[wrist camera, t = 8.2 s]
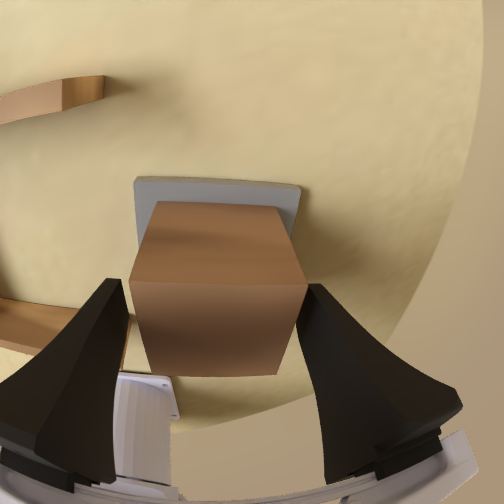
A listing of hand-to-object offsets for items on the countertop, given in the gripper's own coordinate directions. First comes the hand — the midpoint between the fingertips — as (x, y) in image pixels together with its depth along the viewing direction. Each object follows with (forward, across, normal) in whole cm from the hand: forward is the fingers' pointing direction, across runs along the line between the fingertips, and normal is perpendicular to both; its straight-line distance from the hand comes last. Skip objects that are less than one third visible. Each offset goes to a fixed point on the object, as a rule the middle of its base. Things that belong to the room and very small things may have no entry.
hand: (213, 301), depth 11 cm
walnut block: (+3, 0, 0) cm, 3 cm away
